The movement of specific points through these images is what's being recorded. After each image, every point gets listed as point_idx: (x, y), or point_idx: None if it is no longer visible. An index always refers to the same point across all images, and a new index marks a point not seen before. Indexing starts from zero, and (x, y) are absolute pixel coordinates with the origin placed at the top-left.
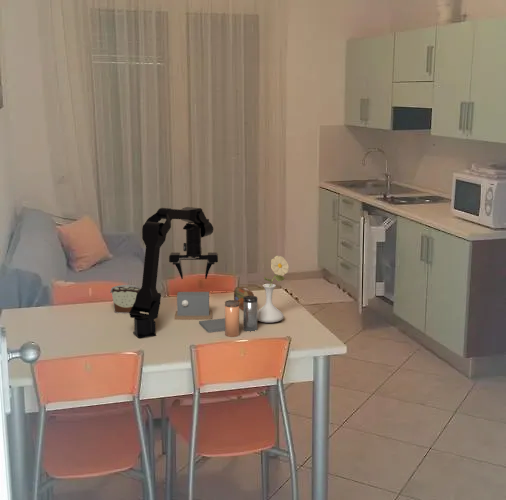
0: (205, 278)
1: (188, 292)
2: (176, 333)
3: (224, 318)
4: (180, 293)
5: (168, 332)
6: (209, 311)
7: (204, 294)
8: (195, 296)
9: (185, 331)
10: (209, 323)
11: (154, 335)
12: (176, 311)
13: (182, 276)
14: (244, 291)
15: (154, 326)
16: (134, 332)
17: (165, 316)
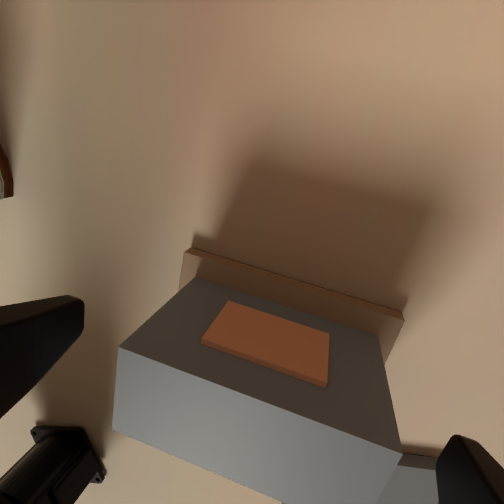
0: (438, 483)
1: (202, 394)
2: (172, 487)
3: (421, 470)
4: (136, 394)
5: (146, 467)
6: (381, 331)
7: (327, 500)
8: (248, 477)
9: (206, 486)
10: None
11: (99, 480)
12: (185, 266)
13: (44, 375)
14: None
15: (79, 493)
16: (35, 438)
17: (137, 282)
